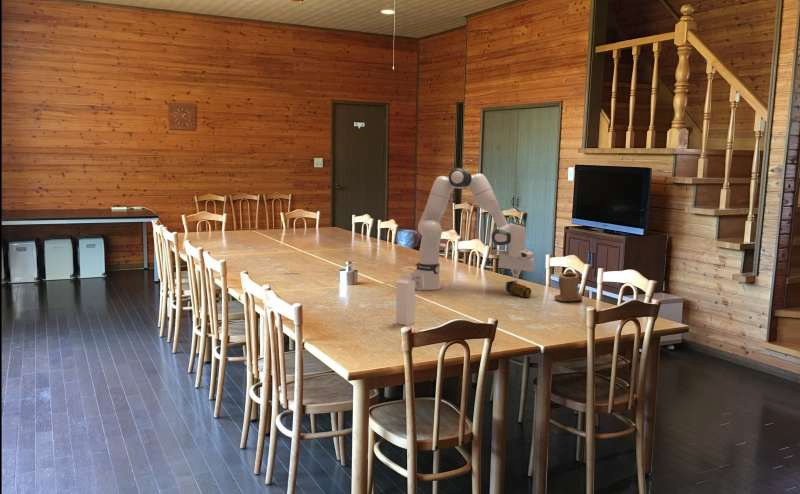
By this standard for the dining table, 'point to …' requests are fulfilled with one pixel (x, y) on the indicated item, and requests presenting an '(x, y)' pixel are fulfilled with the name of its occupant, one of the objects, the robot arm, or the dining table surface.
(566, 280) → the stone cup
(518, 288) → the condiment
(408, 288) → the milk
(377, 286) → the dining table surface
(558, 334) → the dining table surface
